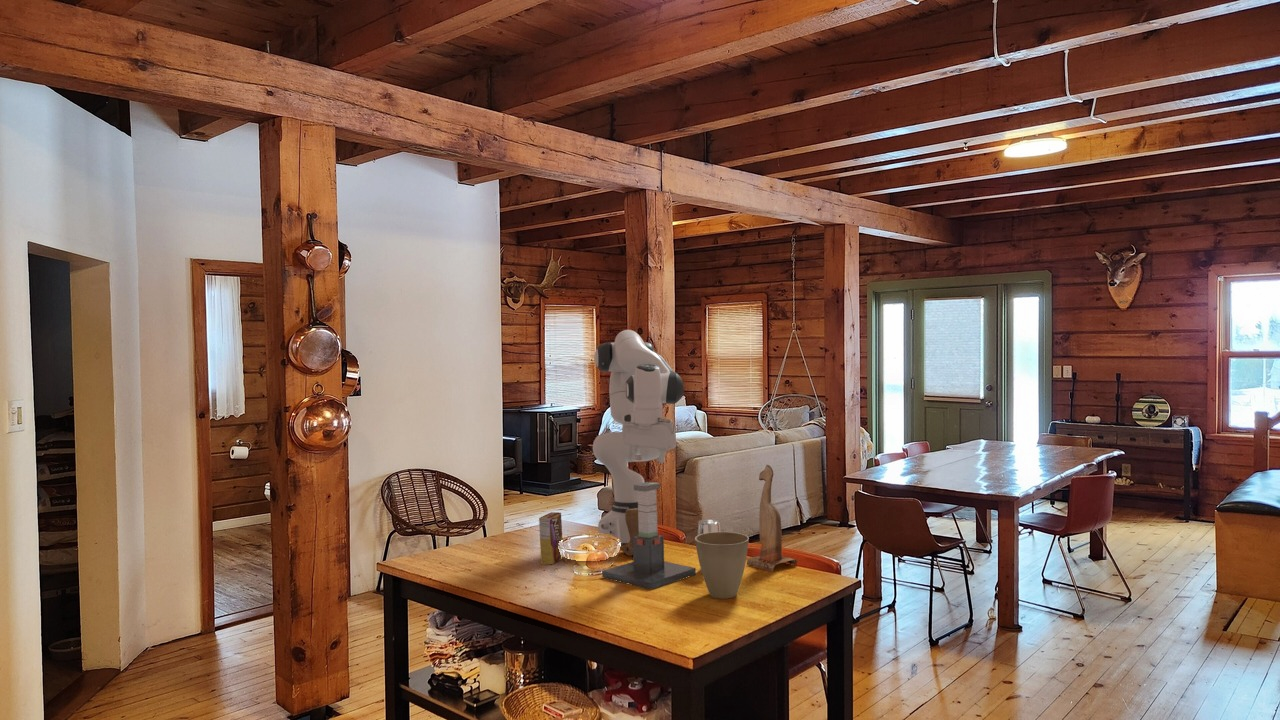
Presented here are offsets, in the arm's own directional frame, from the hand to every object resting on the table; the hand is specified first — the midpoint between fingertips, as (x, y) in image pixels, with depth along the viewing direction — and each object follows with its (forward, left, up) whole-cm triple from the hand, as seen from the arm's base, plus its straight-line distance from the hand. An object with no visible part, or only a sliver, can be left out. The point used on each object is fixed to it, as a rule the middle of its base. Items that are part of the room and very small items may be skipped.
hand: (649, 461), depth 254 cm
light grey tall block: (+4, -5, -25) cm, 26 cm away
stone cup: (-19, +15, -34) cm, 42 cm away
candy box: (-33, -12, -34) cm, 49 cm away
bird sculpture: (+26, +28, -34) cm, 51 cm away
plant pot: (+33, -6, -34) cm, 48 cm away
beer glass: (+14, +12, -34) cm, 39 cm away
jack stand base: (+4, -5, -34) cm, 34 cm away
